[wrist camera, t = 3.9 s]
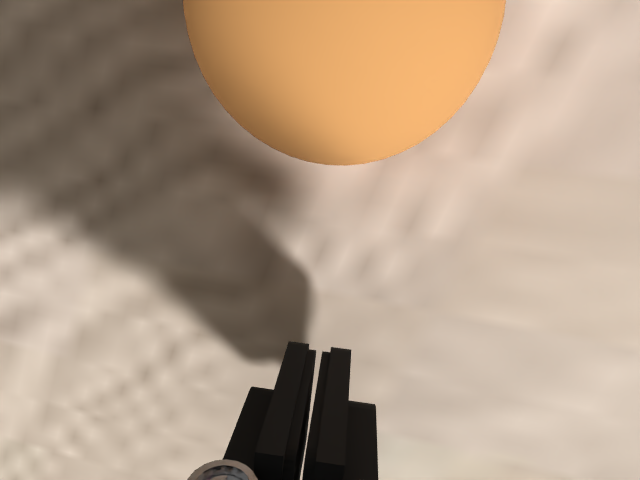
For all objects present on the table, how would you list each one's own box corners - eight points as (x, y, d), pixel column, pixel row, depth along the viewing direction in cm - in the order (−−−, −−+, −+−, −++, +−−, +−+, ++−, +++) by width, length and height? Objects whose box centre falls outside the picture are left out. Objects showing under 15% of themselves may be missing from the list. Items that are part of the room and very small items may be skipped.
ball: (444, 157, 12) (510, 212, 6) (229, 136, 12) (126, 172, 7) (488, -101, 10) (629, -313, 5) (236, -118, 10) (102, -335, 5)
